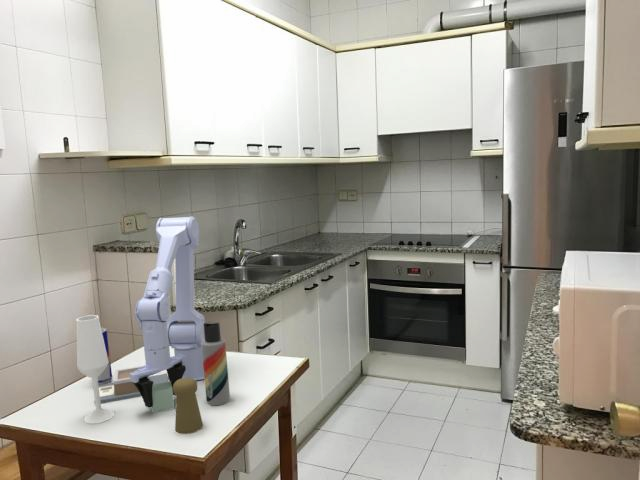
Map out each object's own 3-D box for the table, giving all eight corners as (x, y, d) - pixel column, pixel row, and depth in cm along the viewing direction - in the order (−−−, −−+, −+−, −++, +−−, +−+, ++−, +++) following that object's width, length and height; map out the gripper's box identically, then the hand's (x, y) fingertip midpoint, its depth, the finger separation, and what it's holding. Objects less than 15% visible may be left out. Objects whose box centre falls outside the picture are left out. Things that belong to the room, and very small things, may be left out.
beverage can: (105, 386, 145) (99, 332, 143) (88, 386, 146) (82, 332, 144) (116, 379, 150) (110, 327, 148) (99, 378, 151) (93, 327, 149)
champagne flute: (100, 408, 132) (88, 313, 128) (120, 412, 129) (109, 315, 125) (77, 420, 126) (64, 321, 122) (98, 425, 123) (85, 323, 119)
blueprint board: (167, 376, 150) (165, 360, 149) (169, 391, 140) (167, 374, 139) (97, 388, 144) (95, 371, 144) (94, 404, 134) (92, 386, 133)
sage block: (172, 400, 134) (170, 380, 133) (174, 408, 129) (172, 388, 129) (151, 403, 133) (149, 384, 132) (152, 412, 128) (150, 392, 127)
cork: (177, 422, 122) (172, 375, 121) (204, 419, 123) (200, 373, 121) (172, 435, 116) (167, 386, 115) (201, 432, 117) (196, 384, 115)
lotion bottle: (202, 404, 131) (194, 324, 128) (214, 394, 136) (207, 317, 133) (222, 406, 129) (215, 325, 126) (234, 396, 134) (227, 318, 131)
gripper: (171, 335, 137) (176, 386, 139) (119, 353, 126) (126, 408, 128) (189, 339, 133) (194, 392, 135) (137, 358, 121) (143, 415, 123)
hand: (162, 400), depth 131 cm, fingers closed on sage block, 7 cm apart
